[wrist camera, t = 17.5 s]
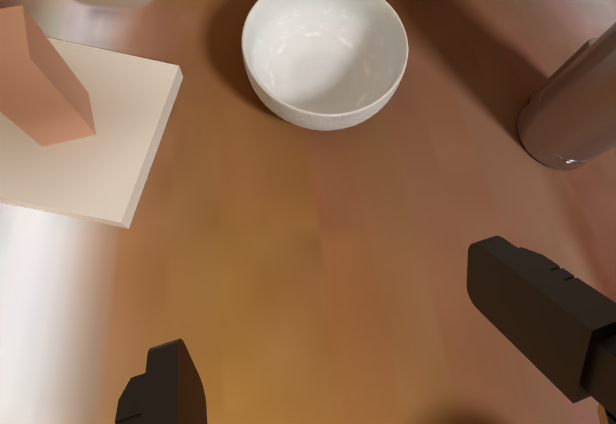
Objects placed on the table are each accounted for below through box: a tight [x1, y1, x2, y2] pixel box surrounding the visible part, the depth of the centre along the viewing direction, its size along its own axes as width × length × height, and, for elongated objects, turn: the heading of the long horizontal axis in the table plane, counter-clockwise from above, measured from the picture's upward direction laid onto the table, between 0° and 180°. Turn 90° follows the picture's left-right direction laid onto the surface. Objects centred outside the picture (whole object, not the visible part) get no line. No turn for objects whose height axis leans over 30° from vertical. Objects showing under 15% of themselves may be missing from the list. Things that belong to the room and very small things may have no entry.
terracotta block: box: [0, 5, 96, 147], centre depth 34 cm, size 5×5×11 cm
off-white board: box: [0, 37, 183, 229], centre depth 40 cm, size 18×18×2 cm
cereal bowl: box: [241, 0, 408, 131], centre depth 42 cm, size 17×17×7 cm
